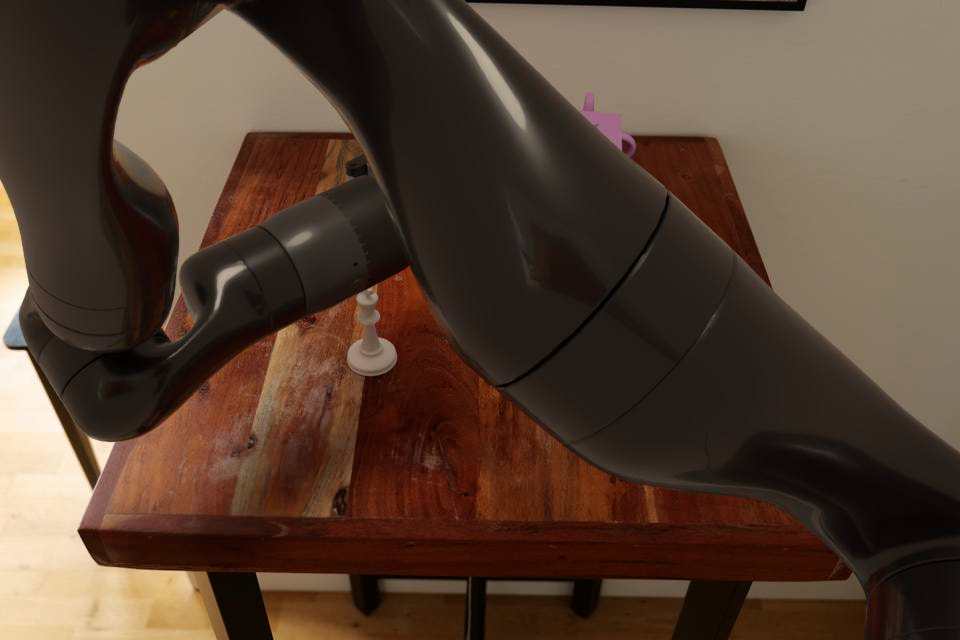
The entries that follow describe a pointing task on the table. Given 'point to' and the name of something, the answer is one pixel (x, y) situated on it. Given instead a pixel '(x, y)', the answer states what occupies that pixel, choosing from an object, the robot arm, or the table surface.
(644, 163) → the table surface
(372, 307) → the chess piece
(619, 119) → the teapot
